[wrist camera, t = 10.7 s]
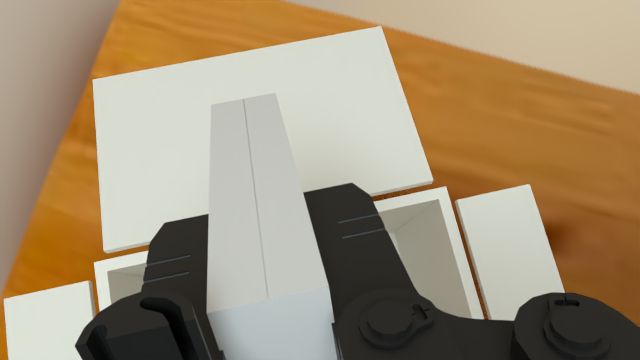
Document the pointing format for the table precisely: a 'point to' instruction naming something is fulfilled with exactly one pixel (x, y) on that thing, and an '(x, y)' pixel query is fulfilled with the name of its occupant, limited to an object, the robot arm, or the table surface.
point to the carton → (408, 238)
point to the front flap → (239, 83)
